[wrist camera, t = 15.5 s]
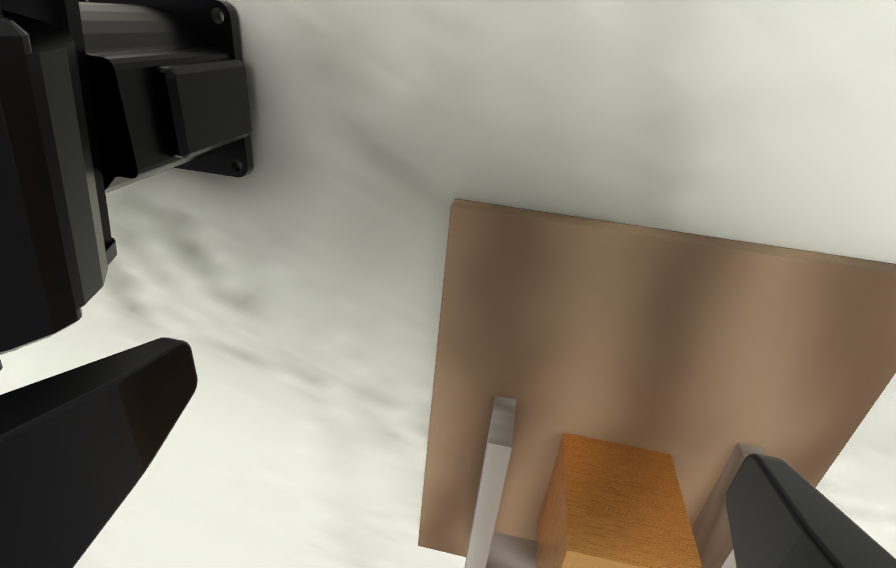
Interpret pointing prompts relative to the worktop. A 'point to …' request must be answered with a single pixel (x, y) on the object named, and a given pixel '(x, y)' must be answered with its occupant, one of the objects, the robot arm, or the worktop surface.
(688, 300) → the bracket board
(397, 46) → the worktop surface
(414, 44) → the worktop surface
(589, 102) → the worktop surface
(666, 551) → the block
